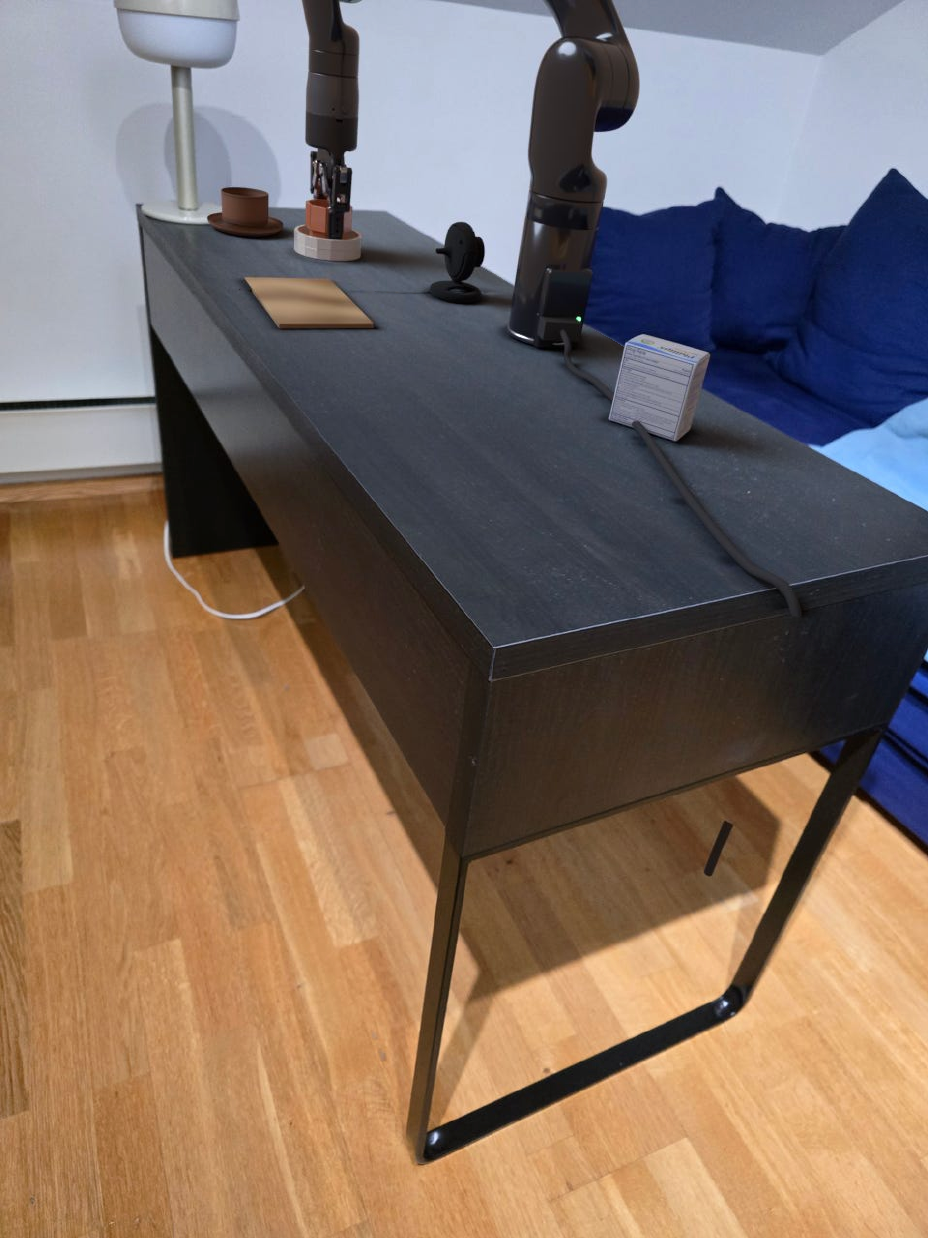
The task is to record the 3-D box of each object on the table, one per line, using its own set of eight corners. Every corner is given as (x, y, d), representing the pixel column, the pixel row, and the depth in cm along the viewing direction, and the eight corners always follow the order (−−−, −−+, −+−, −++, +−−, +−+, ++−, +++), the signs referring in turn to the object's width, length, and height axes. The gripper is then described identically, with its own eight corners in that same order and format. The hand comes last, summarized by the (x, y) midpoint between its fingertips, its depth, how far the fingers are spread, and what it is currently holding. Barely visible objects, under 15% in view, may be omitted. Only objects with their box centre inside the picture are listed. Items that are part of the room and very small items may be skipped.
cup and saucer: (198, 223, 145) (197, 182, 141) (270, 224, 150) (269, 185, 147) (219, 241, 136) (217, 198, 133) (293, 242, 142) (293, 201, 138)
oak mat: (373, 328, 111) (374, 323, 110) (279, 328, 106) (279, 323, 106) (329, 282, 125) (329, 278, 125) (244, 281, 121) (244, 276, 120)
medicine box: (690, 432, 94) (712, 352, 90) (675, 444, 91) (698, 362, 86) (623, 410, 97) (641, 332, 93) (606, 420, 94) (625, 340, 89)
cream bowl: (368, 265, 136) (370, 241, 134) (304, 263, 132) (304, 238, 130) (349, 248, 143) (350, 225, 141) (287, 246, 139) (287, 222, 137)
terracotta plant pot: (354, 258, 136) (356, 209, 132) (312, 257, 134) (313, 207, 130) (342, 247, 141) (343, 200, 137) (301, 246, 138) (302, 197, 134)
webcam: (489, 304, 126) (499, 229, 120) (442, 304, 123) (450, 228, 117) (467, 288, 132) (475, 216, 126) (421, 288, 129) (427, 214, 123)
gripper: (293, 101, 130) (292, 221, 140) (320, 115, 120) (317, 244, 129) (342, 106, 133) (338, 223, 142) (372, 120, 123) (365, 246, 132)
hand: (328, 233), depth 136 cm, fingers closed on terracotta plant pot, 6 cm apart
